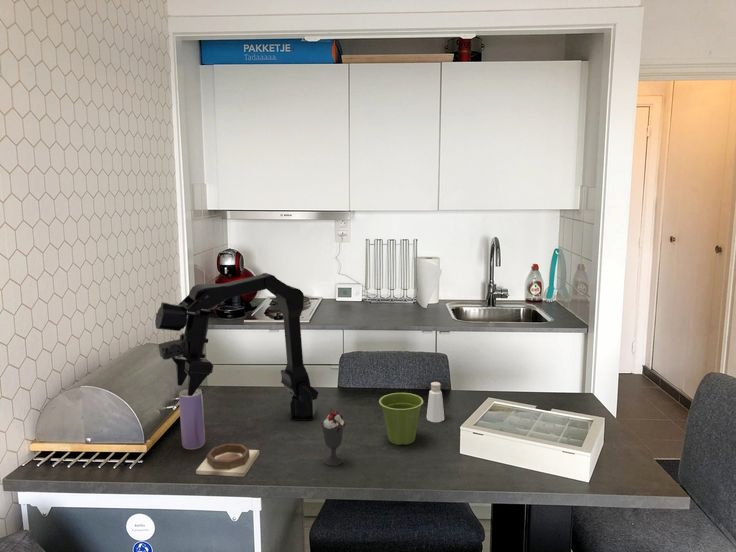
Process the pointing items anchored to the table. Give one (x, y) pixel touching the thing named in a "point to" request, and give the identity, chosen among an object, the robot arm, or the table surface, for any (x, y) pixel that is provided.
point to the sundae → (333, 436)
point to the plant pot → (401, 416)
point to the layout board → (228, 460)
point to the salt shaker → (435, 404)
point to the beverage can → (192, 419)
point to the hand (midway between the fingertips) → (184, 390)
